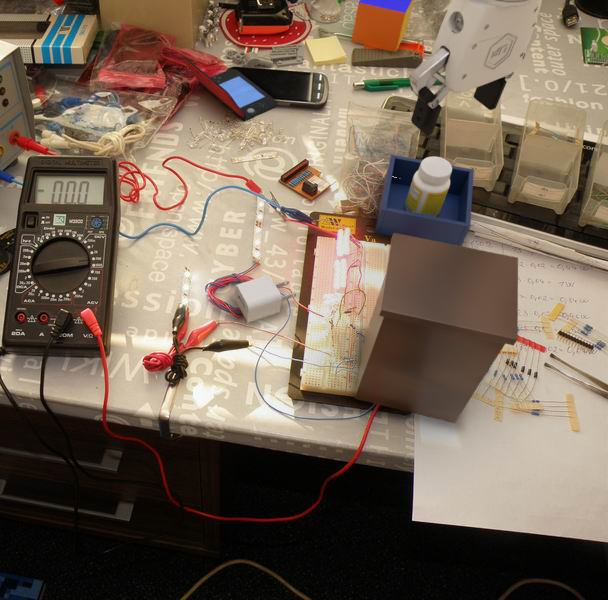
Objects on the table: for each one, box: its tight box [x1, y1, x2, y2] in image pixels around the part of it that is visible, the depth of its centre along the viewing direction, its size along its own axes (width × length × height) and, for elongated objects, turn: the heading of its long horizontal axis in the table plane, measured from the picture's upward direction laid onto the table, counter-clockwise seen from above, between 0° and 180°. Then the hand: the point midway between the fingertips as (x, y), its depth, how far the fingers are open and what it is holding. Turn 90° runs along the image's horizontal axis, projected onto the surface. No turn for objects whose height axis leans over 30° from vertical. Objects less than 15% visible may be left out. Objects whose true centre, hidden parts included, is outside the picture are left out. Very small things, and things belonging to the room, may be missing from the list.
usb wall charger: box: [234, 274, 297, 324], centre depth 82 cm, size 4×7×4 cm, turn 112°
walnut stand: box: [354, 233, 519, 424], centre depth 70 cm, size 12×10×18 cm
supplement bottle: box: [404, 155, 453, 217], centre depth 89 cm, size 5×5×8 cm
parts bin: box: [374, 154, 475, 247], centre depth 91 cm, size 11×11×5 cm
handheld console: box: [182, 55, 278, 123], centre depth 106 cm, size 12×11×7 cm
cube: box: [351, 0, 415, 53], centre depth 117 cm, size 8×8×8 cm
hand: (453, 115), depth 79 cm, fingers open, 9 cm apart
